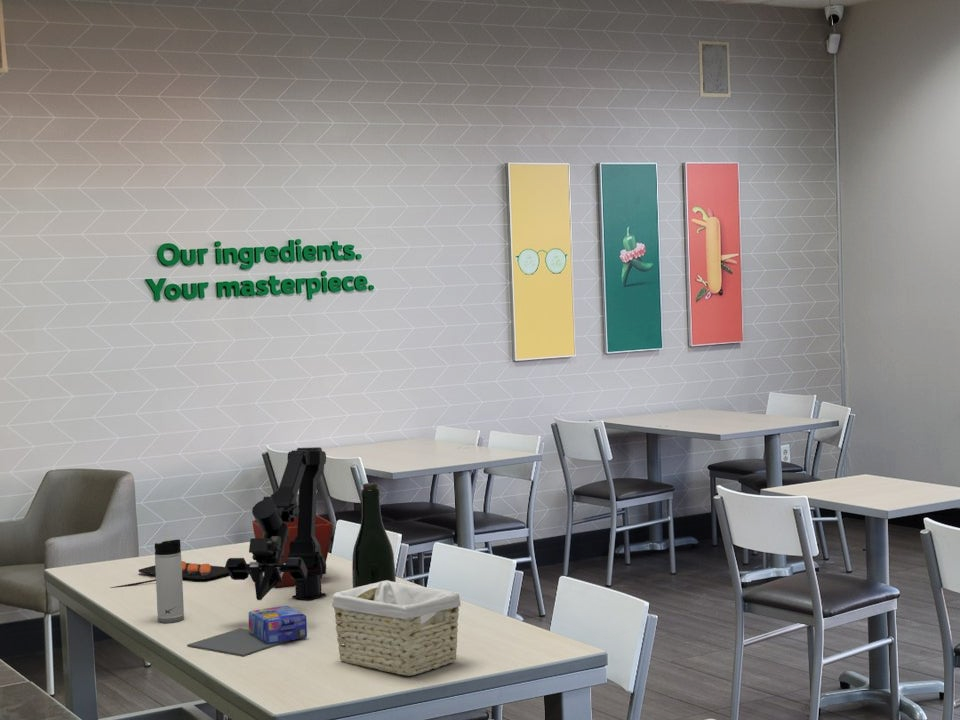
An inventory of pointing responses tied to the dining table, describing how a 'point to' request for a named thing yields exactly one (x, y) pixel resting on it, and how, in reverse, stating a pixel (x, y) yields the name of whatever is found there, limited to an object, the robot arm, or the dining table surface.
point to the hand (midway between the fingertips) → (258, 599)
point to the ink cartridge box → (277, 624)
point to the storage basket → (397, 627)
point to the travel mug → (169, 581)
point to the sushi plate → (188, 572)
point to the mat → (234, 643)
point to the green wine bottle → (372, 543)
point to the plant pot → (321, 534)
